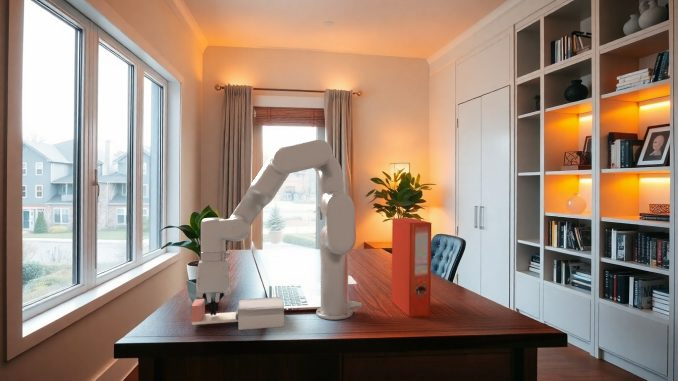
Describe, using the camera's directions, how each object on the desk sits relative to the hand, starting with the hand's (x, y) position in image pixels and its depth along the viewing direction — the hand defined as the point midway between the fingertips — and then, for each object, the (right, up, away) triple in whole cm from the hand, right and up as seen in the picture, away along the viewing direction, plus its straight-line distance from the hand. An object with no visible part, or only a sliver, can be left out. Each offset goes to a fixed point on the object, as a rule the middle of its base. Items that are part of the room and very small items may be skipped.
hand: (213, 313), depth 126 cm
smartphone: (+44, -3, +58) cm, 72 cm away
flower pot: (-11, -4, +22) cm, 25 cm away
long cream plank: (+7, -2, +2) cm, 7 cm away
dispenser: (+15, -4, +3) cm, 15 cm away
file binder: (+66, -4, +17) cm, 68 cm away
